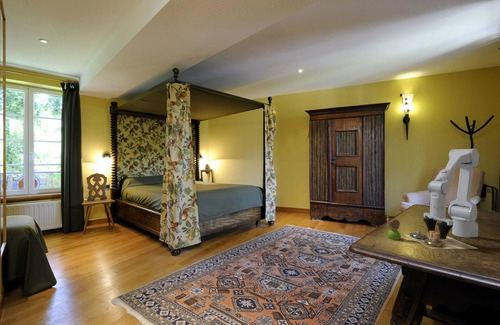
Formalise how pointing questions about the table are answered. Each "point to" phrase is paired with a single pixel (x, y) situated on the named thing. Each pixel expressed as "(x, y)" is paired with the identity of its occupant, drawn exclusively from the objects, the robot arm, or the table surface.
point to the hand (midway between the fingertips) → (437, 236)
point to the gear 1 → (419, 236)
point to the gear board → (449, 243)
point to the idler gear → (434, 234)
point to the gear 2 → (431, 243)
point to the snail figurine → (393, 229)
